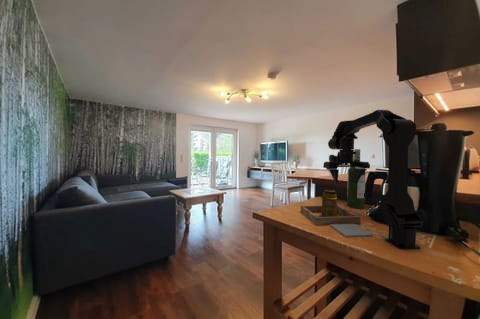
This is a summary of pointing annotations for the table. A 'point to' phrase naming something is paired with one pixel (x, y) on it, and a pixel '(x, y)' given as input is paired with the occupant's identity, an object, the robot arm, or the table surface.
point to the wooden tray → (344, 219)
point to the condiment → (329, 204)
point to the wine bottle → (355, 186)
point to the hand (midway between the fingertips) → (345, 184)
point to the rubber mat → (350, 230)
